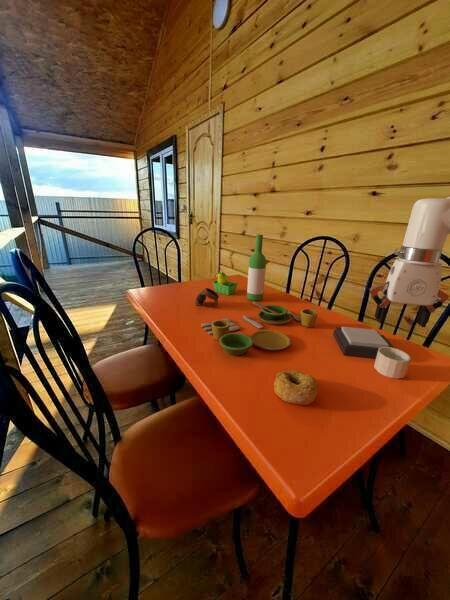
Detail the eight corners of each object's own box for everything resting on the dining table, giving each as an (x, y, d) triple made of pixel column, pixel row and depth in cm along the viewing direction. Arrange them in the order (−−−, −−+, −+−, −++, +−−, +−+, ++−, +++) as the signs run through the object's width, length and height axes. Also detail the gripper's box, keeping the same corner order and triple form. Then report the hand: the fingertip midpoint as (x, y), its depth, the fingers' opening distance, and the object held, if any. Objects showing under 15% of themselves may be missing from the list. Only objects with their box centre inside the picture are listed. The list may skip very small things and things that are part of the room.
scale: (382, 339, 86) (384, 331, 85) (402, 361, 73) (405, 352, 72) (332, 334, 88) (334, 326, 87) (343, 355, 75) (345, 346, 74)
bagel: (307, 377, 65) (309, 361, 63) (324, 409, 54) (328, 391, 53) (268, 377, 64) (270, 361, 63) (278, 409, 54) (281, 391, 52)
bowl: (397, 365, 71) (402, 348, 69) (410, 381, 64) (416, 363, 63) (369, 362, 72) (374, 345, 70) (379, 377, 66) (384, 359, 64)
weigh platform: (374, 333, 84) (375, 329, 84) (387, 349, 74) (388, 344, 74) (341, 330, 86) (341, 326, 85) (349, 345, 76) (350, 341, 75)
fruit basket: (238, 293, 130) (239, 271, 126) (227, 297, 123) (228, 274, 119) (220, 288, 136) (221, 267, 132) (210, 292, 130) (210, 270, 126)
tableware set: (285, 309, 110) (287, 295, 107) (338, 337, 86) (341, 320, 84) (195, 325, 92) (195, 308, 90) (230, 365, 69) (231, 345, 66)
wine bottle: (252, 302, 117) (257, 235, 107) (243, 297, 123) (247, 233, 113) (266, 300, 120) (272, 235, 110) (256, 295, 127) (261, 233, 117)
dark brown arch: (199, 300, 118) (208, 286, 116) (214, 312, 116) (224, 298, 114) (186, 301, 107) (196, 285, 105) (202, 315, 105) (213, 299, 103)
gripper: (385, 255, 57) (368, 325, 62) (473, 261, 54) (446, 333, 60) (373, 250, 64) (358, 313, 69) (450, 255, 61) (428, 320, 67)
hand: (399, 322), depth 65 cm, fingers open, 9 cm apart
